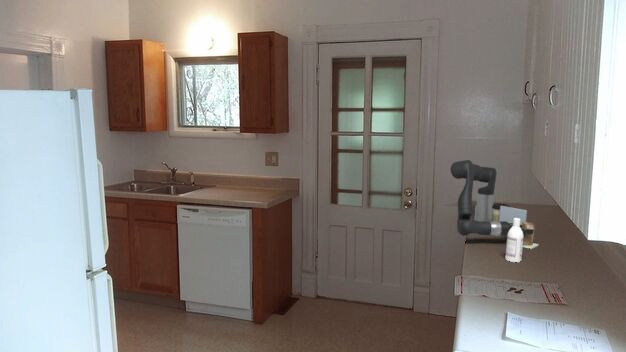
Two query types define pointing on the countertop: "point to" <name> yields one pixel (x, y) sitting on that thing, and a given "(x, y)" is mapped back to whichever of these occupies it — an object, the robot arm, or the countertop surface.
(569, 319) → the countertop surface
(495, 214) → the coffee cup
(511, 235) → the bath foam
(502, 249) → the countertop surface
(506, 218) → the screen
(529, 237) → the brown wooden block
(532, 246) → the mat
